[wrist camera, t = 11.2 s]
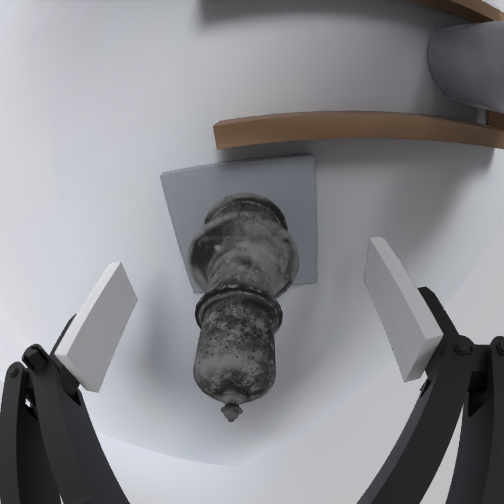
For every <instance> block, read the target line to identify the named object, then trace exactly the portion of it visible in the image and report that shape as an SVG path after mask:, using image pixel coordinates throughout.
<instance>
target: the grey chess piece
mask: <svg viewBox="0 0 504 504" xmlns="http://www.w3.org/2000/svg"><path fill="white" fill-rule="evenodd" d="M187 264H188V269H189V273H190V274H191V276H192V278H193V280H194V282H195V283H196V285H197V286H198V287H199V288H200V289H201V290H202V291H203V292H204V293H206V294H205V295H204V296H202V297H201V298H200V300H199V302H198V303H197V305H196V310H195V318H196V322H197V324H198V325H199V327H200V329H201V332H200V337H199V342H198V347H197V352H196V358H195V363H194V369H193V372H194V379H195V381H196V383H197V385H198V386H199V388H200V389H201V390H202V391H203V392H204V393H205V394H207V395H208V396H210V397H212V398H214V399H216V400H218V401H221V402H223V403H225V406H224V407H222V408H221V411H222V412H223V413H224V415H225V417H226V418H227V419H228V421H229V422H233V421H234V419H236V418H237V417H238V415H239V414H241V413H242V412H243V410H242V409H241V408H240V407H239V404H243V403H246V402H250V401H253V400H256V399H258V398H260V397H262V396H263V395H265V394H266V393H267V392H268V391H269V390H270V389H271V387H272V386H273V384H274V381H275V375H276V366H275V343H274V334H275V333H276V332H277V331H278V330H279V328H280V326H281V323H282V315H283V314H282V310H281V307H280V305H279V303H278V302H277V301H276V300H275V299H276V298H278V297H279V296H280V295H282V294H283V293H284V292H286V291H287V290H288V288H289V287H290V286H291V284H292V283H293V282H294V280H295V278H296V275H297V272H298V270H299V255H298V251H297V247H296V244H295V242H294V241H293V239H292V237H291V236H290V234H289V233H288V227H287V223H286V220H285V217H284V215H283V213H282V212H281V210H280V209H279V207H277V206H276V205H275V204H274V203H273V202H272V201H271V200H269V199H267V198H265V197H263V196H261V195H256V194H252V193H237V194H233V195H230V196H226V197H225V198H223V199H221V200H220V201H218V202H217V203H216V204H215V205H214V206H213V207H212V208H211V209H210V210H209V212H208V214H207V216H206V218H205V221H204V225H203V226H202V227H201V228H200V229H199V230H198V232H197V233H196V234H195V235H194V236H193V239H192V241H191V243H190V245H189V247H188V254H187Z"/></svg>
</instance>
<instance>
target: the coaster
mask: <svg viewBox="0 0 504 504" xmlns="http://www.w3.org/2000/svg"><path fill="white" fill-rule="evenodd" d="M160 177H161V182H162V185H163V189H164V193H165V197H166V201H167V205H168V209H169V212H170V216H171V219H172V223H173V227H174V230H175V234H176V237H177V241H178V244H179V247H180V251H181V254H182V257H183V261H184V264H185V267H186V270H187V273H188V277H189V280H190V283H191V286H192V289H193V292H194V293H200V292H203V291H202V290H201V289H200V288H199V287H198V286H197V285H196V283H195V282H194V280H193V278H192V276H191V274H190V273H189V269H188V264H187V254H188V247H189V245H190V243H191V241H192V239H193V236H194V235H195V234H196V233H197V232H198V230H199V229H200V228H201V227H202V226H203V225H204V221H205V218H206V216H207V214H208V212H209V210H210V209H211V208H212V207H213V206H214V205H215V204H216V203H217V202H218V201H220V200H221V199H223V198H225V197H226V196H230V195H233V194H237V193H252V194H256V195H261V196H263V197H265V198H267V199H269V200H271V201H272V202H273V203H274V204H275V205H276V206H277V207H279V209H280V210H281V212H282V213H283V215H284V217H285V220H286V223H287V227H288V233H289V234H290V236H291V237H292V239H293V241H294V242H295V244H296V247H297V251H298V255H299V270H298V272H297V275H296V278H295V280H294V282H293V283H292V284H291V285H296V284H306V283H316V282H317V208H316V182H315V163H314V155H313V154H312V153H311V154H297V155H285V156H274V157H264V158H255V159H247V160H239V161H231V162H224V163H217V164H210V165H204V166H198V167H192V168H186V169H180V170H175V171H169V172H164V173H162V174H161V175H160Z"/></svg>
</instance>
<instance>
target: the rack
mask: <svg viewBox="0 0 504 504" xmlns="http://www.w3.org/2000/svg"><path fill="white" fill-rule="evenodd" d="M406 1H410V2H414V3H418V4H421V5H425V6H428V7H431V8H435V9H438V10H441V11H444V12H447V13H449V14H452V15H455V16H458V17H460V18H463V19H465V20H468V21H470V22H472V23H480V22H491V21H504V13H503V12H501V11H500V10H498V9H496V8H494V7H493V6H491V5H489V4H487V3H485V2H483V1H481V0H406ZM213 128H214V134H215V140H216V146H217V149H224V148H231V147H238V146H246V145H254V144H263V143H273V142H284V141H297V140H312V139H333V138H402V139H422V140H436V141H447V142H457V143H466V144H474V145H481V146H488V147H494V148H500V149H504V115H503V114H500V113H497V112H493V111H489V110H488V125H484V124H479V123H474V122H469V121H463V120H457V119H451V118H444V117H437V116H428V115H419V114H409V113H395V112H376V111H317V112H297V113H283V114H272V115H262V116H253V117H245V118H238V119H230V120H224V121H219V122H218V123H217V124H215V125H214V126H213Z"/></svg>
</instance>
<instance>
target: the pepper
mask: <svg viewBox="0 0 504 504" xmlns="http://www.w3.org/2000/svg"><path fill="white" fill-rule="evenodd" d="M427 55H428V63H429V67H430V70H431V73H432V75H433V77H434V79H435V81H436V83H437V84H438V86H439V87H440V89H441V90H442V91H443V92H444V93H445V94H446V95H447V96H448V97H449V98H450V99H452V100H454V101H456V102H458V103H461V104H465V105H470V106H474V107H478V108H482V109H486V110H489V111H493V112H497V113H500V114H503V115H504V21H491V22H480V23H471V24H463V25H457V26H450V27H445V28H440V29H438V30H436V31H435V32H434V33H433V34H432V36H431V38H430V40H429V43H428V49H427Z"/></svg>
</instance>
